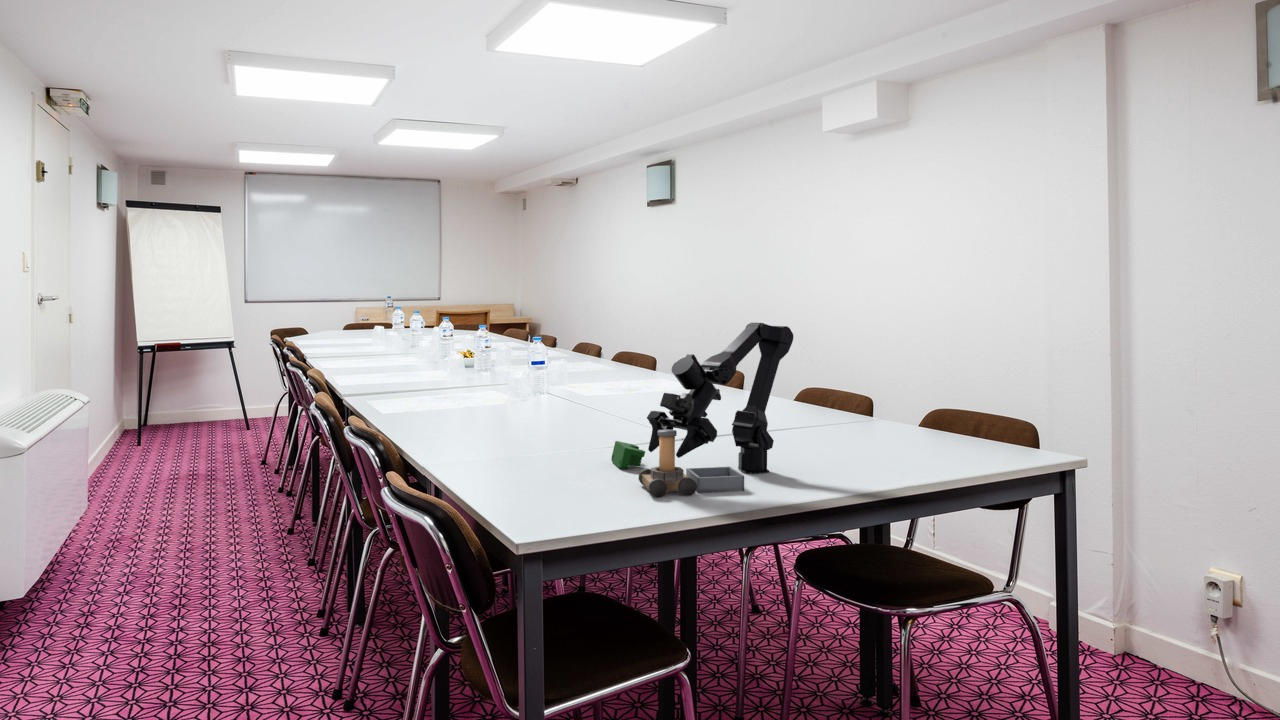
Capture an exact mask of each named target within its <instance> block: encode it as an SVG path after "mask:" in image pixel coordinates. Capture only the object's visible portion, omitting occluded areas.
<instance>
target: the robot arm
mask: <svg viewBox="0 0 1280 720" xmlns="http://www.w3.org/2000/svg"><path fill="white" fill-rule="evenodd" d="M793 341H794V332H792V329H791V328H790V327H789V326H787V325H786V326H783V325H769V324H766V323H764V322H750V323H748V324H746V325H745V328H744V329H743V330H742V331H741V332H740V333H739V335H738V336H736V338H735V339H733V341H732V342H730V344H729V345H728V346H727V347H725V348H724V349H723V351H721V352H720V353H717V354H714V355H712V356H710V357H709V358H706V360H704V361H703V362H702V363H701V364H700V362H699V361H698V359H697V357H696V355H695V354H693V353H687V354H686V356H685V357H682V358H680V359H678V360H677V361H676V362H674V363H673V364H672V366H671V373H672V374H673V375H674V377H675V378H676V379H677V381H678V382H679V383H680V385H681V386H682V387H683V389H685V390H687V391H689V392H688V393H686V392H683V393H681V395H680V394H676V393H670V392H664V393H663V394H662V398H661V401H660V404H659V406H660V407H661V408H665V409H667V410H668V413H669V415H670V416H672V418H670V417H669V416H668V415H667V414H666V412H665V411H661V410H650V412H649V414H648V415H647V416H646V419H647V420H648V422H649V424H650V426H651V428H652V430H651V436H650V440H649V445H648V451H649V452H650V453H652V452H654V451H655V450H656V449H657V448H658V447H659V436H658V430H666V429H668V430H674V429H680V430H683V431H686V435H685V436H684V439H683V441H682V442H681V444H680V446H679V447H678V449H677V452H675V457H677V458H682V457H684V456H685V455H687V454H688V453H690V452H692V451H694V450H695V449H697V448H699V447H701V446H703V445H708V444H709V442H711V443H713V442H715V439H716V438H717V436H718V430H717V429H716V428H715V426H714V424H713V423H712V422H711V420H710V419H709V418H708V417H707V416H708V413H707V412H706V411H707V409H708V407H709V406H710V405H711V404H712V401H721V400H722V396H721V392H720V391H721V390H720V389H719V388H716V387H715V385H723V386H725V385H728V384H729V383H730V382H731V380H732V379H733V377H734V376H735V374H737V367H738V365H739V363H741V361H743V359H745V357H746V356H747V355H749V353H751V351H752V350H753V349H754V348H755V347H756V346H757V345H758V348H759V352H760V357H759V358H760V359H759V363H758V366H757V370H756V373H755V376H754V380H753V382H752V385H751V389H750V393H749V396H748V400H747V403H746V406H745V408H743V409H742V410H736V412H735V414H734V419H733V422H732V424H731V426H732V430H731V434H732V436H733V440H734V444H735V447H740V452H738V464H737V465H738V467H737V470H740V471H741V472H742V473H744V474H764V473H766V474H767V473H770V469H768V451H769V450H771V449H773V445H774V442H775V441H774V439H773V437H772V436H771V435H770V433H769V432H768V431H767V430H768V424H769V423H768V419H767V415H766V410H767V407H768V402H769V400H770V396H771V394H772V393H771V392H772V389H773V385H774V382H775V379H776V374H777V372H778V368H779V364H780V363H781V362H780V361H781V360H782V359H784V357H785V356H786V355H787V354H788V353H789V352H790V349H791V347H792V345H793Z"/></svg>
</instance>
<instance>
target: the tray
mask: <svg viewBox="0 0 1280 720" xmlns="http://www.w3.org/2000/svg"><path fill="white" fill-rule="evenodd" d="M685 473H686V474H685V475H686V476H687V477H689V478H691V479H693V480H694V481H695V482H696V484H697V489H696V492H697V494H709V493H727V492H728V493H729V492H730V491H732V492H745V475H744V474H742V473H741V472H739V471H737V470H736V469H734V468H733V467H731V466H715V467H714V466H713V467H690V468H686V472H685Z"/></svg>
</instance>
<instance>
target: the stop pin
mask: <svg viewBox="0 0 1280 720" xmlns="http://www.w3.org/2000/svg"><path fill="white" fill-rule="evenodd" d="M677 433H678V432H677V430H675V429H673V430H668V429H666V430H658V436H659V446H658V447H659V448H658V449H659V451H658V453H659V459H658V466H659V471H663V472H672V471H675V467H676V462H675V461H676V450H675V449H676V436H678V435H677Z"/></svg>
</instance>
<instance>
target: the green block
mask: <svg viewBox="0 0 1280 720" xmlns="http://www.w3.org/2000/svg"><path fill="white" fill-rule="evenodd" d="M639 448H640V447H639V445H635V444H632V443H630V442H629V443H628V442H622V441H620V440H615V442H614V446H613V450H612V454H611V462H612V463H613V464H615V466H616V467H618V468H619V469H624V470H628V469H629V466H631V467H636V466H640V467H641V463H642V459H643V458H645V454H646V451H645V450H644V449H639Z"/></svg>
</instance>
